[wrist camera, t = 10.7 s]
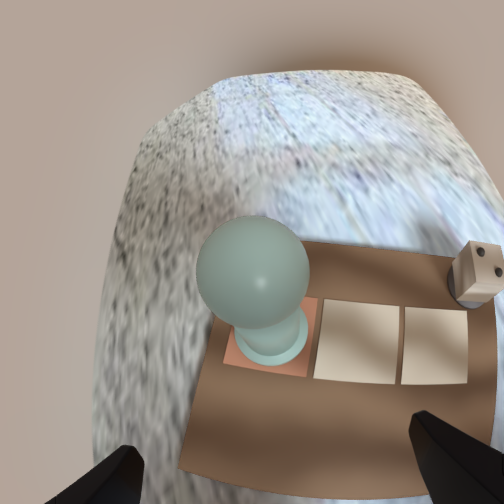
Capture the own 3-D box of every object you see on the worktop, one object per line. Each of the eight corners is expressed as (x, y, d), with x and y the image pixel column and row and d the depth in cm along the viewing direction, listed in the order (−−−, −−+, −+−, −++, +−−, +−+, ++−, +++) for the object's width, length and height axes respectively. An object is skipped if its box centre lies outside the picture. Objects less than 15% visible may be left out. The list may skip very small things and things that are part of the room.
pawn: (316, 353, 19) (340, 284, 9) (245, 374, 19) (184, 329, 9) (295, 290, 22) (289, 174, 12) (229, 309, 22) (169, 210, 12)
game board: (476, 481, 11) (510, 489, 7) (181, 466, 17) (150, 478, 12) (484, 266, 21) (510, 237, 16) (238, 239, 26) (226, 202, 22)
